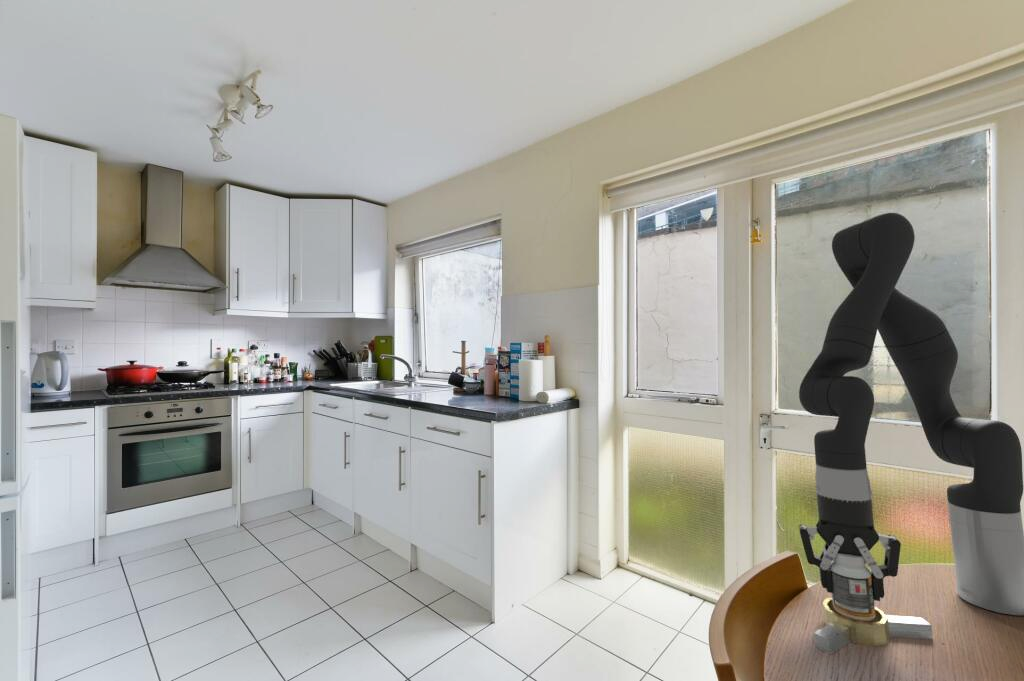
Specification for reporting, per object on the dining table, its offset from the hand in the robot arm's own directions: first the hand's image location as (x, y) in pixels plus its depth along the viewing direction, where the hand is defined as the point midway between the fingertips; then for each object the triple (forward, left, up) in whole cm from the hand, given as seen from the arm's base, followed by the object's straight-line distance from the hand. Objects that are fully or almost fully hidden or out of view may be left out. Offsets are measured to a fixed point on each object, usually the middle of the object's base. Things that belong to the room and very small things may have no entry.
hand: (851, 594), depth 73 cm
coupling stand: (0, 0, -6) cm, 6 cm away
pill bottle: (0, 0, -3) cm, 3 cm away
